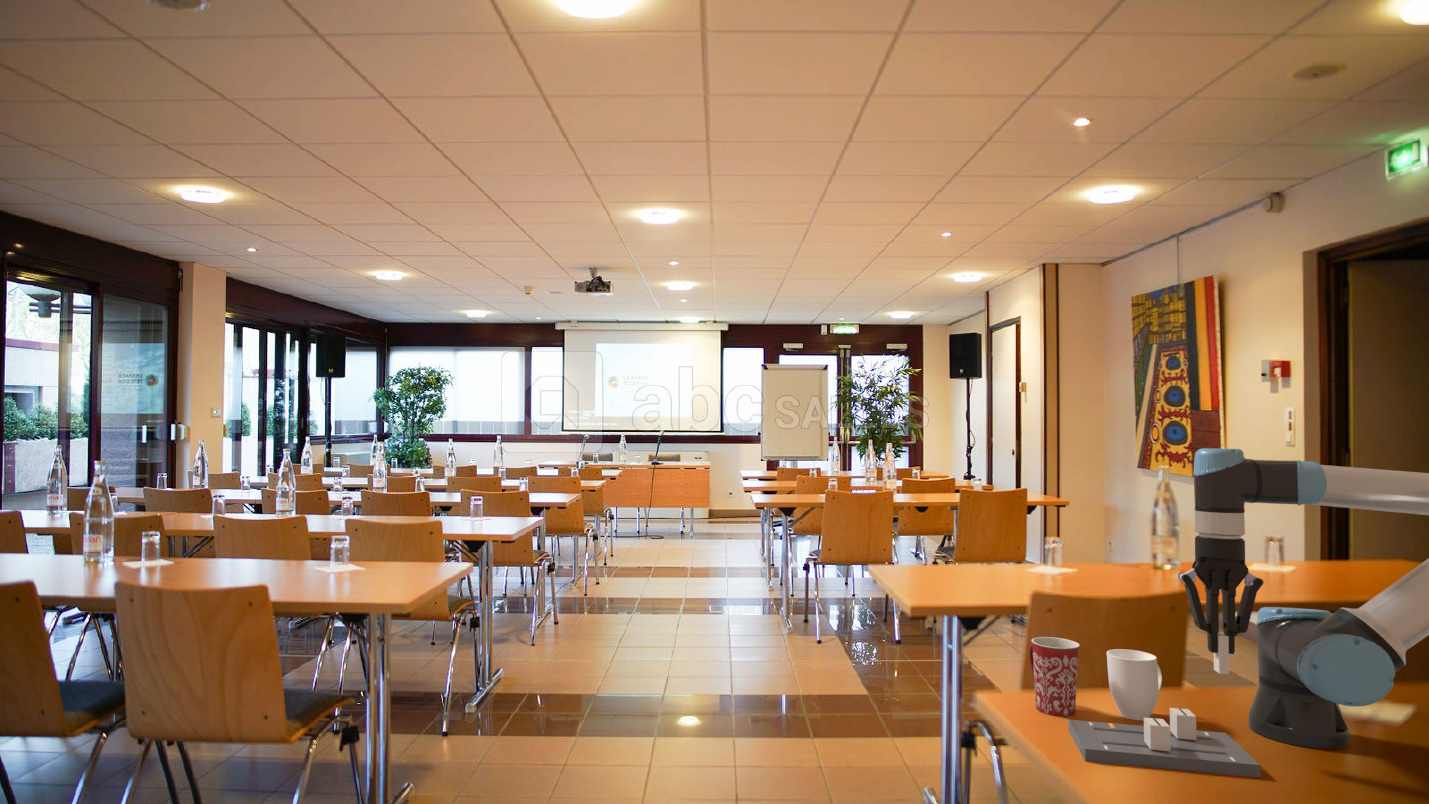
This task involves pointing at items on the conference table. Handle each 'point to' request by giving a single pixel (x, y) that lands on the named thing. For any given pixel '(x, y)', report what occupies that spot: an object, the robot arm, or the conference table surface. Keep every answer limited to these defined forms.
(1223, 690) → the conference table surface
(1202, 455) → the robot arm
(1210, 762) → the console
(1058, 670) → the mug
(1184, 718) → the block
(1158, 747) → the fader
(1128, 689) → the mug
